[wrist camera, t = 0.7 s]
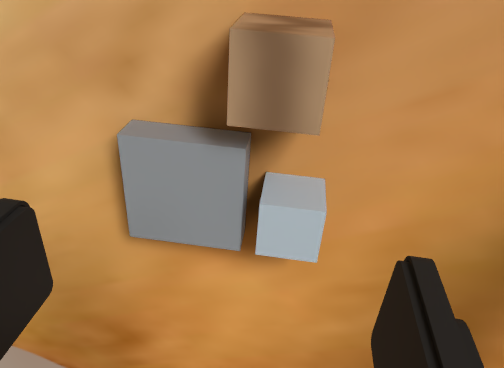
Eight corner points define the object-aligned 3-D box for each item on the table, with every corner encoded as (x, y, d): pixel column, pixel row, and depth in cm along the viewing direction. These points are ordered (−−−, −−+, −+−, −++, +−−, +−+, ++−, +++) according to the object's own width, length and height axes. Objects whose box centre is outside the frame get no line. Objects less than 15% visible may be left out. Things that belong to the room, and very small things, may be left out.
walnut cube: (331, 19, 28) (335, 37, 23) (318, 103, 31) (319, 135, 26) (244, 12, 28) (229, 28, 23) (240, 95, 31) (226, 125, 26)
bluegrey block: (324, 178, 34) (326, 212, 30) (316, 225, 37) (316, 262, 33) (266, 171, 35) (259, 203, 30) (261, 218, 37) (255, 254, 33)
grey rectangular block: (251, 132, 33) (245, 149, 30) (244, 230, 38) (239, 251, 35) (131, 119, 34) (117, 134, 31) (142, 216, 39) (129, 236, 36)
